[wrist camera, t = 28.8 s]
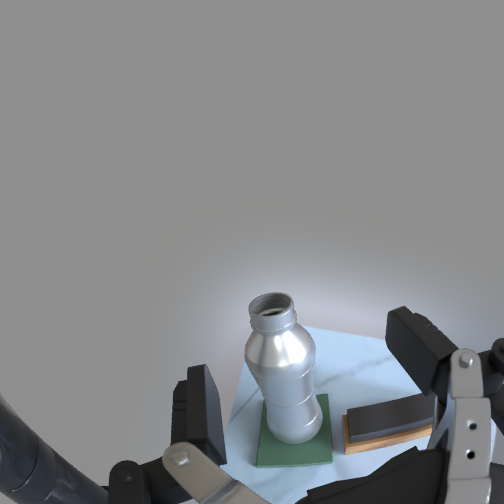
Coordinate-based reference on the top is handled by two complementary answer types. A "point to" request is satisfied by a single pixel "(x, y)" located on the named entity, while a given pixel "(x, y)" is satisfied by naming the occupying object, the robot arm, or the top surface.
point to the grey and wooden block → (388, 423)
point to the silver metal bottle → (283, 368)
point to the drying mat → (296, 454)
